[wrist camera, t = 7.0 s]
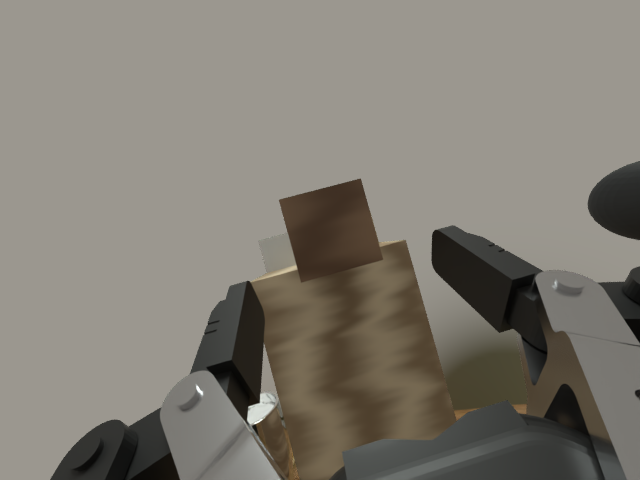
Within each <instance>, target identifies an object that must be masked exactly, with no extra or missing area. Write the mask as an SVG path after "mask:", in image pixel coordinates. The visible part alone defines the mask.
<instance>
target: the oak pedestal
mask: <svg viewBox="0 0 640 480" xmlns="http://www.w3.org/2000/svg"><path fill="white" fill-rule="evenodd" d="M379 246H380V250H381V253H382V257H383V260H381V261H378V262H374V263H370V264H367V265H363V266H360V267H356V268H352V269H349V270H345V271H341V272H338V273H334V274H331V275H327V276H323V277H320V278H316V279H313V280H309V281H305V282H302V283H301V280H300V277H299V273H298V269H297V265H295V266H291V267H287V268H284V269H280V270H276V271H273V272H269V273H266V274H264V275H263V276H261V277H259V278H257V279H255V280H253V281H252V282H251V284H252V286H253V288H254V290H255V292H256V295H257V297H258V299H259V301H260V303H261V305H262V308H263V311H264V316H265V330H264V344H265V348H266V351H267V355H268V359H269V363H270V367H271V371H272V375H273V378H274V382H275V386H276V390H277V394H278V398H279V401H280V405H281V409H282V413H283V417H284V421H285V424H286V428H287V432H288V436H289V440H290V444H291V447H292V451H293V455H294V459H295V463H296V467H297V471H298V474H299V478H300V480H329V479H330V478H331V477H332V476H333V475H334V474H335V473H336V472H337V471H338V470H339V469H340V468H342V467H343V466H344V461H343V456H342V452H343V451H346V450H350V449H353V448H356V447H359V446H362V445H366V444H369V443H372V442H375V441H378V440H382V439H407V440H432V439H435V438H436V437H438V436H439V435H440V434H441V433H443V432H444V431H445V430H446V429H448V428H449V427H450V426H451V425H453V424H454V423H455V422H456V417H455V413H454V410H453V406H452V403H451V399H450V396H449V392H448V389H447V385H446V382H445V378H444V374H443V371H442V367H441V364H440V360H439V357H438V353H437V350H436V346H435V343H434V339H433V335H432V332H431V329H430V325H429V321H428V318H427V314H426V311H425V307H424V304H423V300H422V296H421V293H420V289H419V286H418V282H417V279H416V275H415V272H414V268H413V265H412V261H411V258H410V254H409V251H408V247H407V243H406V240H399V241H389V242H379Z"/></svg>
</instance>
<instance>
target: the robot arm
mask: <svg viewBox="0 0 640 480" xmlns="http://www.w3.org/2000/svg"><path fill="white" fill-rule="evenodd" d="M588 209H589V212H590V214H591V216H592V217H593V218H594V220H595V221H596V222H597V223H598V224H600V225H601V226H602V227H604V228H605V229H607V230H609V231H611V232H613V233H615V234H618V235H621V236H624V237H627V238H631V239H637V240H640V161H638V162H635V163H632V164H629V165H626V166H624V167H622V168H620V169H618V170H615V171H613V172H612V173H610V174H609V175H607V176H606V177H604V178H603V179H602V180H601V181H600V182H599V183H597V185H596V186H595V187H594V188H593V190H592V191H591V193H590V196H589V200H588ZM432 265H433V268H434V270H435V271H436V273H437V274H438V275H439V276H440V277H441V278H443V280H444V281H445V282H446V283H448V284H449V285H450V286H451V287H452V288H453V289H454V290H455V291H456V292H457V293H458V294H459V295H460V296H461V297H462V298H463V299H464V300H465V301H466V302H468V303H469V304H470V305H471V306H472V307H473V308H474V309H475V310H476V311H477V312H478V313H479V314H480V315H481V316H482V317H483V318H484V319H485V320H486V321H488V322H489V323H490V324H491V325H492V326H493V327H494V328H495V329H496V330H497V331H498V332H499V333H500V332H504V331H507V330H510V329H515V330H516V331H517V332H518V336H517V343H518V348H519V353H520V358H521V363H522V368H523V373H524V378H525V383H526V388H527V398H528V399H527V414H518V413H517V411H516V410H515V409H514V408H513V406H512V405H511V404H510V403H509V402H508V400H506V401H503V402H500V403H497V404H493V405H490V406H487V407H484V408H481V409H477V410H474V411H471V412H468V413H466V414H465V415H464V416H463V417H461V418H460V419H459V420H458V421H456V422H455V423H454V424H453V425H451V426H450V427H449V428H448V429H446V430H445V431H444V432H443V433H441V434H440V435H439V436H438V437H436V438H435V439H432V440H407V439H382V440H378V441H375V442H372V443H369V444H366V445H362V446H359V447H356V448H353V449H350V450H346V451H343V452H342V456H343V461H344V466H343V467H342V468H340V469H339V470H338V471H337V472H336V473H335V474H334V475H333V476H332V477H331V478H330V479H329V480H640V267H637V268H634V269H632V270H631V271H630V273H629V275H628V277H627V279H626V280H625V282H606V283H605V282H603V283H597V282H595V281H593V280H592V279H589V278H587V277H585V276H583V275H580V274H576V273H573V272H568V271H561V270H549V271H542V270H540V269H539V268H537V267H535V266H533V265H531V264H530V263H528V262H526V261H524V260H522V259H521V258H519V257H517V256H515V255H514V254H512V253H510V252H508V251H505V250H504V249H502V248H501V247H499V246H498V245H495V244H494V243H492V242H490V241H489V240H487V239H485V238H483V237H480V236H477V235H473V234H470V233H466V232H464V231H463V230H461V229H459V228H458V227H456V226H449V227H445V228H441V229H438V230H435V231H434V232H433V234H432ZM264 330H265V316H264V311H263V308H262V305H261V303H260V301H259V299H258V297H257V295H256V292H255V290H254V288H253V286H252V284H251V282H250V281H246V282H242V283H239V284H235V285H232V286H230V287H229V290H228V293H227V297H226V300H223V301H220V302H219V303H218V304H217V306H216V307H215V308H214V310H213V311H212V312H211V315H210V318H209V321H208V326H207V327H206V329H205V332H204V334H205V335H204V336H203V338H202V341H201V344H200V347H199V349H198V352H197V355H196V358H195V361H194V364H193V366H192V370H191V373H190V375H188V376H186V377H185V378H183V379H182V380H181V381H180V382H178V383H177V384H176V385H175V386H174V387H173V388H172V390H171V391H170V392H169V394H168V395H167V397H166V398H165V400H164V402H163V404H162V407H161V408H159V409H157V410H156V411H154V412H153V413H151V414H149V415H147V416H146V417H144V418H143V419H141V420H139V421H137V422H136V423H134V424H133V425H131V426H129V427H128V426H127V425H125V424H124V423H123V422H121V421H120V420H110V421H107V422H105V423H102V424H100V425H99V426H97V427H95V428H94V429H92V430H91V431H90V432H88V433H87V434H86V435H85V436H84V437H83V438H81V439H80V440H79V441H78V442H77V443H76V444H75V445H74V446H73V447H72V448H71V450H70V451H69V452H68V453H67V454H66V456H65V457H64V458H63V460H62V461H61V463H60V464H59V466H58V468H57V469H56V471H55V473H54V474H53V476H52V478H51V479H50V480H288V479H287V477H286V476H285V475H284V473H283V472H282V470H281V469H280V467H279V466H278V465H277V463H276V462H275V460H274V459H273V457H272V456H271V454H270V453H269V451H268V450H267V448H266V447H265V445H264V444H263V443H262V441H261V440H260V438H259V437H258V435H257V434H256V432H255V431H254V429H253V428H252V426H251V425H250V424H249V422H248V421H247V417H248V407H249V406H252V405H255V404H258V403H260V392H261V376H262V361H263V344H264Z"/></svg>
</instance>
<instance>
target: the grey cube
mask: <svg viewBox="0 0 640 480" xmlns="http://www.w3.org/2000/svg"><path fill="white" fill-rule="evenodd" d="M259 245H260V248H261V252H262V256H263V260H264V264H265V267H266V271H267V273H269V272H273V271H276V270H280V269H284V268H287V267H291V266H295V265H296V262H295V258H294V254H293V250H292V247H291V243H290V239H289V235H288V233H286V234H282V235H278V236H274V237H271V238H267V239H263V240H260V241H259Z"/></svg>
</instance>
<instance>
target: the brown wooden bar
mask: <svg viewBox="0 0 640 480" xmlns="http://www.w3.org/2000/svg"><path fill="white" fill-rule="evenodd" d="M279 202H280V205H281V209H282V213H283V217H284V221H285V224H286V228H287V232H288V235H289V239H290V243H291V247H292V250H293V254H294V258H295V262H296V265H297V269H298V273H299V277H300V280H301V283H302V282H305V281H309V280H313V279H316V278H320V277H323V276H327V275H331V274H334V273H338V272H341V271H345V270H349V269H352V268H356V267H360V266H363V265H367V264H370V263H374V262H378V261H381V260H383V257H382V253H381V250H380V246H379V242H378V239H377V235H376V232H375V228H374V224H373V221H372V217H371V214H370V210H369V207H368V203H367V199H366V196H365V192H364V189H363V185H362V181H361V179H357V180H353V181H349V182H346V183H342V184H338V185H334V186H330V187H326V188H323V189H319V190H315V191H311V192H307V193H303V194H299V195H296V196H292V197H288V198H284V199H280V200H279Z"/></svg>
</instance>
